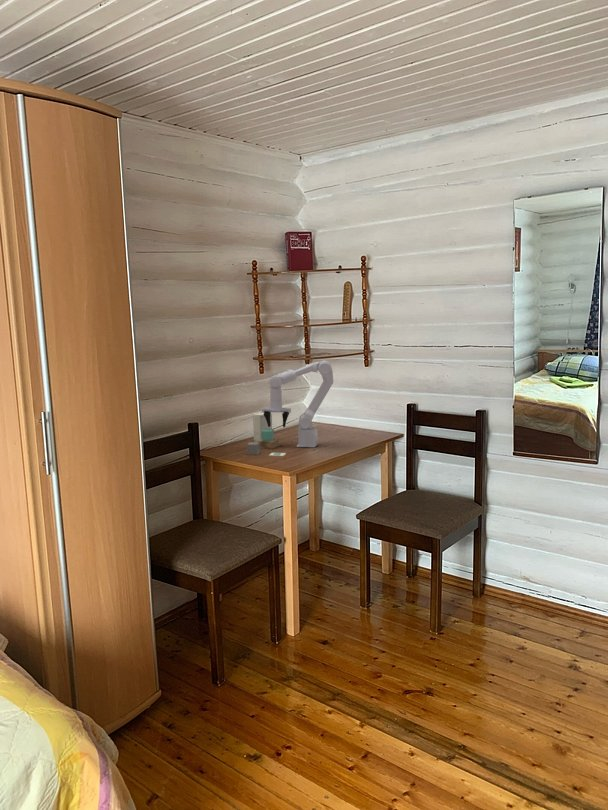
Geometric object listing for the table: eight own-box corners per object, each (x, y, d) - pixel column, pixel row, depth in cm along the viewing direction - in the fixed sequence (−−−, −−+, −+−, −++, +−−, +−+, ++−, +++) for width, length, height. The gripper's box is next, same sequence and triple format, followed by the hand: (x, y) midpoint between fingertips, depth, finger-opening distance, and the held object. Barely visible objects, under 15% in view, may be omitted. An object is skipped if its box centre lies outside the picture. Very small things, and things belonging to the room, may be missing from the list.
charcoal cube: (260, 452, 317) (260, 442, 316) (257, 455, 312) (256, 444, 311) (250, 452, 318) (250, 442, 317) (247, 454, 313) (246, 444, 312)
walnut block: (279, 446, 330) (278, 438, 330) (272, 450, 323) (272, 442, 322) (264, 445, 333) (264, 437, 333) (257, 449, 326) (257, 441, 325)
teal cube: (273, 439, 329) (273, 429, 328) (271, 441, 324) (271, 431, 323) (264, 439, 330) (263, 429, 329) (262, 441, 325) (261, 431, 324)
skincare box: (260, 443, 336) (259, 415, 333) (253, 442, 340) (252, 413, 338) (273, 441, 341) (272, 413, 339) (265, 439, 346) (264, 411, 343)
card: (285, 453, 313) (285, 452, 313) (283, 456, 308) (283, 455, 308) (271, 453, 315) (271, 452, 315) (268, 455, 310) (268, 454, 310)
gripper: (259, 400, 324) (260, 427, 326) (288, 401, 321) (288, 428, 323) (263, 398, 331) (264, 425, 333) (291, 399, 327) (292, 425, 330)
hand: (276, 426), depth 328 cm, fingers open, 7 cm apart
